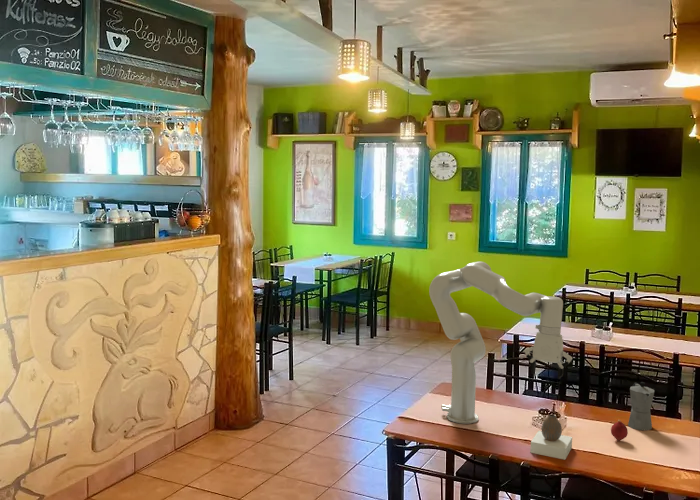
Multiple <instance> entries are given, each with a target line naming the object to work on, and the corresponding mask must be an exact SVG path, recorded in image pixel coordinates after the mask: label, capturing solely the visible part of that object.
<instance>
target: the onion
mask: <svg viewBox="0 0 700 500" xmlns="http://www.w3.org/2000/svg"><path fill="white" fill-rule="evenodd" d="M610 434H611V436H612V437H614V440H616V441H618V442H620V441H623V440H624V439H625V438H627V436H628V435H629V433H628V426H627V425H626V424H625V423H624V422H623V421H621V420H620V419H617V422H615V423H613V424H612V425H611V426H610Z"/></svg>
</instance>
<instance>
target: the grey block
mask: <svg viewBox="0 0 700 500" xmlns="http://www.w3.org/2000/svg"><path fill="white" fill-rule="evenodd" d="M572 448H573V437H572V436H569V435H562V434H561V436H560V438H559V439H558V440H557V441H548V440H546V439H545V438H544V436H543V434H542V430H538V431H537V432H536V434H534V437H532V439H531V441H530V451H529V453H531V454H536V455H541V456H546V457H550V458H553V459H559V460H566V459H567V458H568V455H570V454H569V453H570V452H571V450H572Z"/></svg>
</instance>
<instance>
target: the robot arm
mask: <svg viewBox="0 0 700 500" xmlns="http://www.w3.org/2000/svg"><path fill="white" fill-rule="evenodd" d="M471 287H474V288H476V289H477V290H480V291H482V292H483V293H485V294H488V295H489V296H491V297H493V298H494V299H495V300H496V302H498V303H499V304H500V305H501V306H503V308H506V309H508V310H510V311H512V312H513V313H515V314H518V315H520V316H522V317H523V316H524V317H530V316H531V315H534V314H539V313H540V318H539V324H536V325H535V329H537V330H538V331H537V332H536V333H535V338H534V341H533V342H534V343H533V346H531V347H527V348H525V349H524V354H525V355H526V358H527V359H528V361H529V363H530V370H529V371H531V373H530V374H531V375H533V374H535V373H536V367H537V362H536V360H537V361H540V362H541V361H542V362H546V363H551V364H552V363H553V364H557V365H558V369H557V379H558V380H560V379H561V378H562V377H564V370H565V369H564V368H565V367H567V366H568V365H569V364H570V363H571V362H572V360H573V356H571V355H569V354H568V353H567V352H565V351H564V342H563V341H564V338H563V335H562V333H561V332H562V331H561V330H562V320H563V308H564V301H563V299H562V298H561V297H558V296H553V295H551V296H549V295H548V296H547V295H545V294H541V293H538V292H530V293H527V294H523V293H521V292H519V291H516V290H515V289H513V288H511V287H510V286H509V285H508V284H507V282H506V278H505V277H504V276H503V275H501V274H498V273H496V272H494V271H493V270H492V268H491V266H490V265H489V264H488V263H486V262H485V261H473V262H470V263H467V264H466V265H464V267H461V268H458V269H455V270H450V271H445V272H441V273H439V274H437V275H436V276H435V277H434V278H433V279H432V280H431V283H430V285H429V287H428V288H429V289H428V290H429V292H428V293H429V297H430V300H431V302H432V303H431V304H432V305H433V307H434V308H435V311H436V314H437V318H438V319H439V322H440V324H441V327H442V329H443V333H444V335H445V336H446V338H448V339H449V340H452V341H455V340H459V342H457V343H456V344H454V345H453V347H452V349H451V350H450V364H451V394H450V395H451V396H450V397H451V398H450V404H449V405H448V404H444V403H443V404H441V410H442V411H443V412H447V414H446V419H447V420H449V421H450V422H452V423H455V424H456V423H457V424H463V425H464V424H465V425H467V424H475V423H477V422H478V421H479V416H478V414H477V413H476V412H475V411H476V389H477V388H476V383H477V380H476V379H477V374H476V373H477V372H476V368H475V367H476V366H475V362H478V361H480V360H481V359H482V358H484V357H485V355H486V352H487V351H486V350H487V349H486V343H485V341H484V339H483V337H482V333H481V332H480V331H481V330H480V329H479V327H478V325H477V323H476V320H475V318H474V317H473V316H472V315H470V314H469V313H466V312H460V310H459V308H458V306H457V303H456V302H455V300H454V299H453V297H452V296H451V294H452V293H455V292H458V291H462V290H464V289H467V288H471ZM531 352H532V354H530V353H531ZM563 357H564V358H565V359H566V360H565V362H564V361H563Z"/></svg>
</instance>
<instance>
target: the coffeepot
mask: <svg viewBox="0 0 700 500" xmlns="http://www.w3.org/2000/svg"><path fill="white" fill-rule="evenodd" d="M645 384H646V382H644V381H641V382H640V384H639V383H638V382H634V383H633V384H632V386H630V388H629V394H630V404H631V410H630V413H629V418H628V422H627V427H629V428H631V429H633V430H638V431H646V432H647V431H650V430H652V428H653V423H652V415H651V408H652V403H653V400H654V396H655V389H654V388H651V387H648V386H645Z"/></svg>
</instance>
